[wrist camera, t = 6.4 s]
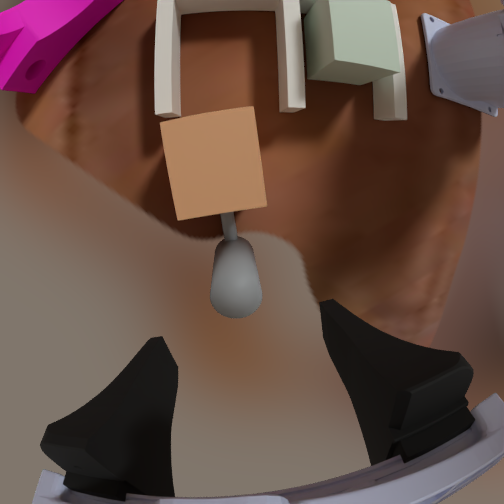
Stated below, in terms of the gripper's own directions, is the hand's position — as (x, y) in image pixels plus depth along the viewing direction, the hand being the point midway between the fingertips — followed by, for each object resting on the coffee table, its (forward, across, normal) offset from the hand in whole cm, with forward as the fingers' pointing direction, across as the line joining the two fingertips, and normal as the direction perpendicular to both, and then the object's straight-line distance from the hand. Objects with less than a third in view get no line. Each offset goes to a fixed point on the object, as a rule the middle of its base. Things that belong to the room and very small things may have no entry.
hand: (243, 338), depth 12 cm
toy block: (+10, +7, -24) cm, 27 cm away
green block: (+10, -10, -14) cm, 19 cm away
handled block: (+9, 0, -4) cm, 10 cm away
